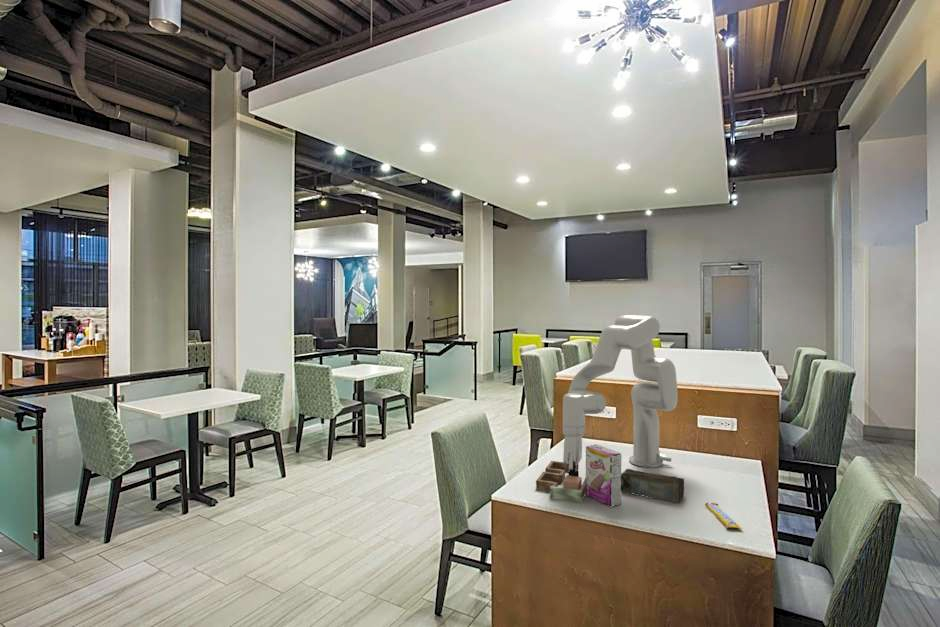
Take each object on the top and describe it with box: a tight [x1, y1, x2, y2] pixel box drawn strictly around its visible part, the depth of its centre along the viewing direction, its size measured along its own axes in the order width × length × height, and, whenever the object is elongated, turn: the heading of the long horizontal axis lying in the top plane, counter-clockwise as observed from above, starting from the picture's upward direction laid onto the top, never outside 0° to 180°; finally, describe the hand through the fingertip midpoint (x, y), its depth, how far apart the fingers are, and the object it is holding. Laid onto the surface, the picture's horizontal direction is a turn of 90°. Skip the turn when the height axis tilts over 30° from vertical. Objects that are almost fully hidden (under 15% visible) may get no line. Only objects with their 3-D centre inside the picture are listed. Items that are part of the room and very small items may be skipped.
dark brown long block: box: [621, 468, 685, 504], centre depth 164 cm, size 8×19×7 cm, turn 57°
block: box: [562, 474, 583, 490], centre depth 167 cm, size 5×6×4 cm
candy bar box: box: [585, 444, 622, 507], centre depth 159 cm, size 11×5×16 cm, turn 32°
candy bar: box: [704, 502, 744, 530], centre depth 146 cm, size 17×4×2 cm, turn 175°
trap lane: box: [535, 460, 586, 503], centre depth 177 cm, size 16×38×4 cm, turn 158°
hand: (573, 482), depth 172 cm, fingers closed
